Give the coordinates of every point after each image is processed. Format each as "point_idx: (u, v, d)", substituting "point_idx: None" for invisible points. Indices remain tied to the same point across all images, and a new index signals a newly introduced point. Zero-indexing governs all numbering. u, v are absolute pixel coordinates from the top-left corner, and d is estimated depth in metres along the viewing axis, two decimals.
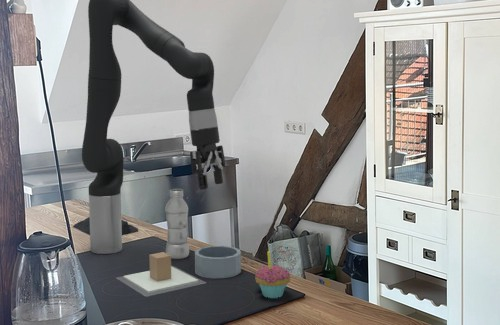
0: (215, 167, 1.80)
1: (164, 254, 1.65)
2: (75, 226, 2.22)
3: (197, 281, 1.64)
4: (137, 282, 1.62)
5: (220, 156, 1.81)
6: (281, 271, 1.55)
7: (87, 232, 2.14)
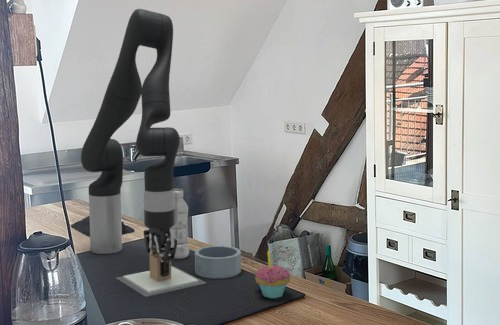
0: None
1: None
2: (72, 226, 2.22)
3: (197, 281, 1.64)
4: (137, 282, 1.62)
5: None
6: (281, 271, 1.55)
7: (83, 232, 2.14)
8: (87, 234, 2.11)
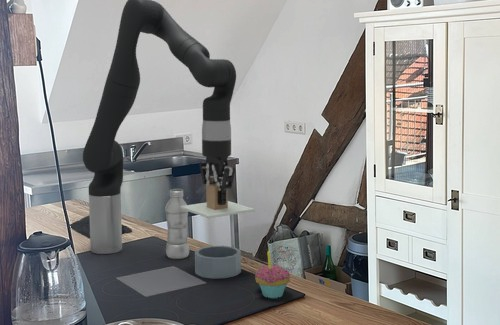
0: None
1: None
2: None
3: (253, 210, 1.69)
4: (195, 210, 1.67)
5: None
6: (281, 271, 1.55)
7: (81, 232, 2.14)
8: (84, 234, 2.11)
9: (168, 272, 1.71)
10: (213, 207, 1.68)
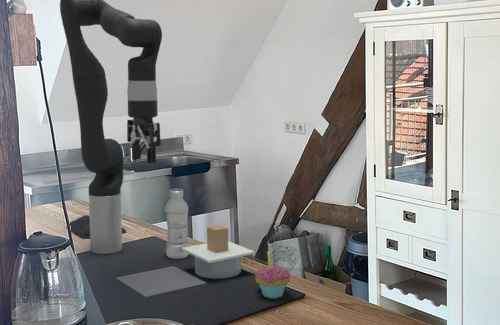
0: None
1: (221, 227, 1.72)
2: None
3: (253, 252, 1.70)
4: (196, 253, 1.69)
5: None
6: (281, 271, 1.55)
7: (75, 232, 2.13)
8: (78, 234, 2.11)
9: (168, 272, 1.71)
10: (214, 250, 1.70)
